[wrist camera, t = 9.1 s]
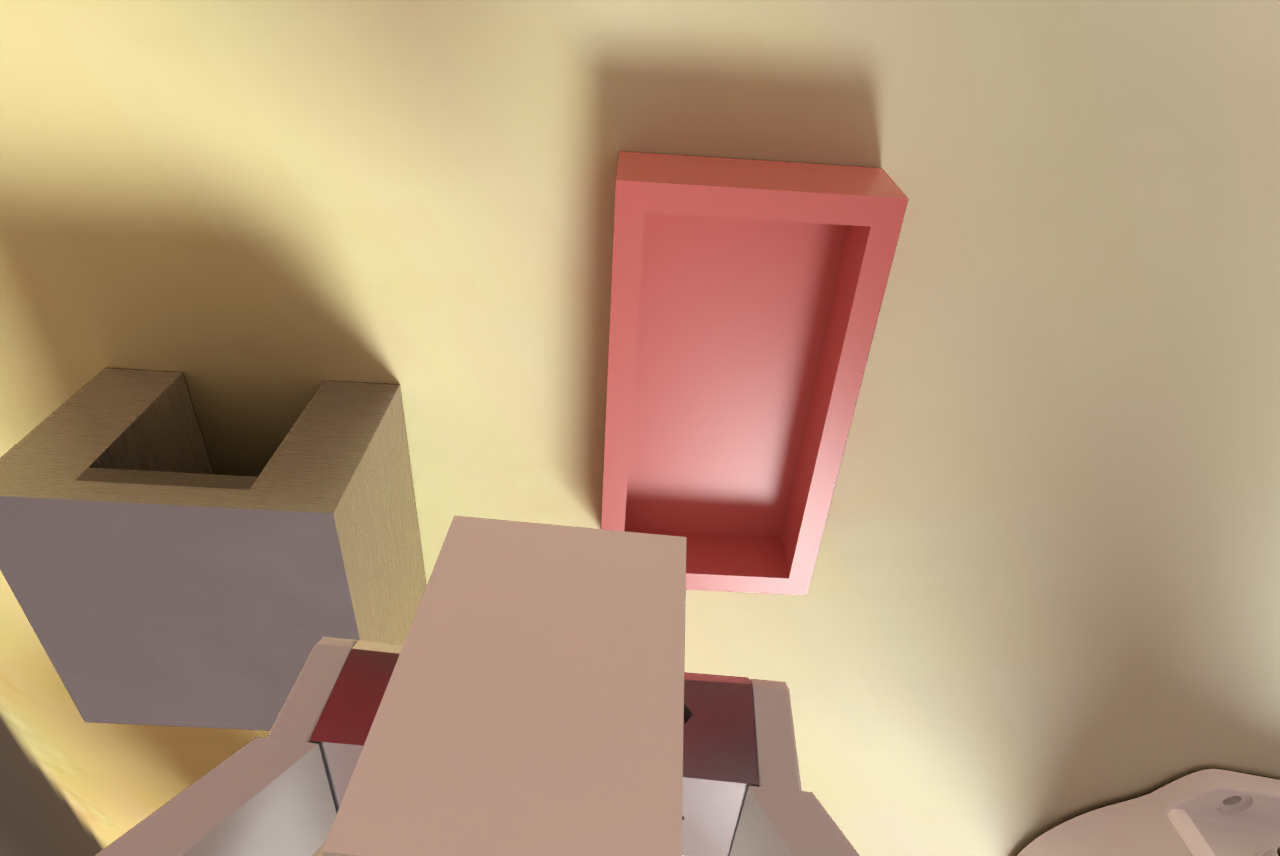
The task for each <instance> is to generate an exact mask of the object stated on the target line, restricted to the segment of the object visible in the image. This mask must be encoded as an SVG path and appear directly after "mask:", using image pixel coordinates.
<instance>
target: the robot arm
mask: <svg viewBox="0 0 1280 856" xmlns="http://www.w3.org/2000/svg"><path fill="white" fill-rule="evenodd" d="M402 647H403V646H401V645H393V644H385V643H377V642H369V641H361V640H353V639H343V638H334V637H324V636H323V637H322V638H321V640H320V641H319V642H318V643H317V644H316V645H315V646H314V647H313V649H312V651H311V653H310V655H309V657H308V659H307V661H306V663H305V665H304V667H303V668H302V670H301V672H300V674H299V676H298V678H297V680H296V682H295V684H294V686H293V688H292V690H291V692H290V694H289V696H288V697H287V699H286V701H285V703H284V705H283V707H282V709H281V711H280V713H279V715H278V717H277V719H276V721H275V723H274V725H273V726H272V728H271V730H270V732H269V734H268V736H267V738H259V737H256V738H254V739H253V740H251V741H250V742H249V743H247V744H246V745H245V746H243V747H242V748H241V749H239V750H238V751H236V752H235V753H234V754H232V755H231V756H230V757H228V758H227V759H226V760H224V761H223V762H221V763H220V764H219V765H217V766H216V767H215V768H213V769H212V770H211V771H209V772H208V773H207V774H205V775H204V776H202V777H201V778H200V779H198V780H197V781H196V782H194V783H193V784H192V785H190V786H189V787H187V788H186V789H185V790H183V791H182V792H181V793H179V794H178V795H177V796H175V797H174V798H172V799H171V800H170V801H168V802H167V803H166V804H164V805H163V806H162V807H160V808H159V809H158V810H156V811H155V812H153V813H152V814H151V815H149V816H148V817H147V818H145V819H144V820H143V821H141V822H140V823H138V824H137V825H136V826H134V827H133V828H132V829H130V830H129V831H128V832H126V833H125V834H124V835H122V836H121V837H119V838H118V839H117V840H115V841H114V842H113V843H111V844H110V845H109V846H107V847H106V848H104V849H103V850H102V851H100V852H99V853H98V854H96V855H95V856H312V855H313V854H314V853H315V852H316V851H317V850H318V849H319V848H320V847H321V846H322V845H323V844H324V843H325V841H326V840H327V838H328V835H329V833H330V830H331V827H332V825H333V822H334V820H335V817H336V815H337V812H338V810H339V807H340V805H341V802H342V800H343V797H344V795H345V792H346V789H347V787H348V784H349V782H350V779H351V777H352V774H353V772H354V769H355V767H356V764H357V762H358V759H359V756H360V754H361V751H362V749H363V746H364V744H365V741H366V739H367V736H368V734H369V731H370V729H371V726H372V723H373V721H374V718H375V716H376V713H377V711H378V708H379V706H380V703H381V701H382V698H383V696H384V693H385V691H386V688H387V685H388V683H389V680H390V678H391V675H392V673H393V670H394V668H395V665H396V663H397V660H398V658H399V655H400V652H401V650H402ZM681 855H684V856H860V855H859V854H858V853H857V851H856V850H855V849H854V847H853V846H852V845H851V843H850V842H849V841H848V839H847V838H846V837H845V835H844V834H843V833H842V831H841V830H840V829H839V827H838V826H837V825H836V823H835V822H834V821H833V819H832V818H831V817H830V815H829V814H828V813H827V811H826V810H825V809H824V807H823V806H822V805H821V803H820V802H819V801H818V799H817V798H816V797H815V795H814V794H813V793H812V792H806V791H802V790H801V782H800V774H799V766H798V758H797V750H796V742H795V734H794V726H793V718H792V710H791V702H790V694H789V688H788V687H787V685H786V683H785V682H779V681H768V680H757V679H750V680H749V678H746V677H734V676H722V675H710V674H698V673H686V672H684V725H683V789H682V852H681ZM1017 856H1280V780H1278V779H1272V778H1266V777H1261V776H1255V775H1250V774H1244V773H1239V772H1233V771H1227V770H1221V769H1205V770H1201V771H1197V772H1194V773H1191V774H1189V775H1186V776H1184V777H1182V778H1179V779H1177V780H1175V781H1173V782H1171V783H1169V784H1167V785H1165V786H1163V787H1161V788H1159V789H1157V790H1155V791H1154V792H1152V793H1150V794H1147V795H1144V796H1141V797H1138V798H1135V799H1131V800H1128V801H1124V802H1120V803H1117V804H1113V805H1109V806H1106V807H1102V808H1099V809H1096V810H1093V811H1090V812H1087V813H1085V814H1082V815H1080V816H1077V817H1075V818H1072V819H1070V820H1068V821H1066V822H1064V823H1062V824H1060V825H1058V826H1056V827H1054V828H1052V829H1050V830H1049V831H1047V832H1045V833H1044V834H1042V835H1041V836H1039V837H1038V838H1036V839H1035V840H1033V841H1032V842H1031V843H1030V844H1028V845H1027V846H1026V847H1025V848H1024V849H1023V850H1022V851H1021V852H1020V853H1019V854H1018V855H1017Z"/></svg>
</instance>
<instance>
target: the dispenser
mask: <svg viewBox="0 0 1280 856" xmlns="http://www.w3.org/2000/svg"><path fill="white" fill-rule="evenodd" d="M0 570H1V572H2V573H3V575H4V577H5V579H6V581H7V582H8V584H9V586H10V588H11V590H12V591H13V593H14V595H15V597H16V599H17V600H18V602H19V604H20V606H21V608H22V609H23V611H24V613H25V615H26V617H27V618H28V620H29V622H30V624H31V626H32V627H33V629H34V631H35V633H36V635H37V636H38V638H39V640H40V642H41V644H42V646H43V647H44V649H45V651H46V653H47V655H48V656H49V658H50V660H51V662H52V664H53V665H54V667H55V669H56V671H57V673H58V674H59V676H60V678H61V680H62V682H63V683H64V685H65V687H66V689H67V691H68V692H69V694H70V696H71V698H72V700H73V701H74V703H75V705H76V707H77V709H78V710H79V712H80V714H81V716H82V718H83V719H84V721H85V722H93V723H115V724H137V725H159V726H181V727H203V728H225V729H247V730H269V731H270V730H271V728H272V726H273V725H274V723H275V721H276V719H277V717H278V715H279V713H280V711H281V709H282V707H283V705H284V703H285V701H286V699H287V697H288V696H289V694H290V692H291V690H292V688H293V686H294V684H295V682H296V680H297V678H298V676H299V674H300V672H301V670H302V668H303V667H304V665H305V663H306V661H307V659H308V657H309V655H310V653H311V651H312V649H313V647H314V646H315V645H316V644H317V643H318V642H319V641H320V640H321V638H322V637H323V636H324V637H334V638H343V639H353V640H361V641H369V642H377V643H385V644H393V645H401V646H403V645H404V642H405V640H406V637H407V635H408V632H409V630H410V627H411V625H412V622H413V620H414V617H415V614H416V612H417V609H418V607H419V604H420V602H421V599H422V597H423V594H424V592H425V589H426V579H425V571H424V564H423V556H422V549H421V541H420V534H419V526H418V518H417V511H416V503H415V496H414V488H413V481H412V473H411V466H410V458H409V450H408V443H407V435H406V428H405V420H404V413H403V405H402V397H401V390H400V385H395V384H377V383H360V382H342V381H323V382H322V384H321V385H320V387H319V388H318V390H317V391H316V393H315V394H314V395H313V397H312V398H311V400H310V401H309V403H308V404H307V406H306V407H305V409H304V410H303V412H302V413H301V415H300V416H299V417H298V419H297V420H296V422H295V423H294V425H293V426H292V428H291V429H290V431H289V432H288V434H287V435H286V437H285V438H284V439H283V441H282V442H281V444H280V445H279V447H278V448H277V450H276V451H275V453H274V454H273V456H272V457H271V459H270V460H269V461H268V463H267V464H266V466H265V467H264V469H263V470H262V472H261V473H260V475H259V476H258V477H254V476H235V475H217V474H214V472H213V469H212V466H211V463H210V460H209V456H208V453H207V450H206V447H205V444H204V440H203V437H202V434H201V431H200V428H199V424H198V421H197V418H196V415H195V412H194V408H193V405H192V402H191V399H190V396H189V392H188V389H187V386H186V383H185V379H184V376H183V373H182V372H165V371H148V370H130V369H112V368H105V369H104V370H102V371H101V372H100V373H99V374H98V375H97V376H95V377H94V378H93V379H92V380H91V381H90V382H88V383H87V384H86V385H85V386H84V387H83V388H81V389H80V390H79V391H78V392H77V393H75V394H74V395H73V396H72V397H71V398H70V399H68V400H67V401H66V402H65V403H64V404H63V405H61V406H60V407H59V408H58V409H57V410H56V411H54V412H53V413H52V414H51V415H50V416H49V417H47V418H46V419H45V420H44V421H43V422H42V423H40V424H39V425H38V426H37V427H36V428H35V429H33V430H32V431H31V432H30V433H29V434H28V435H26V436H25V437H24V438H23V439H22V440H21V441H19V442H18V443H17V444H16V445H15V446H14V447H12V448H11V449H10V450H9V451H8V452H7V453H5V454H4V455H3V456H2V457H1V458H0Z"/></svg>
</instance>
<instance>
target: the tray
mask: <svg viewBox="0 0 1280 856" xmlns="http://www.w3.org/2000/svg"><path fill="white" fill-rule="evenodd" d="M907 202H908V198H907V196H906V195H905V194H904V193H903V192H902V191H901V190H900V188H899V187H898V186H897V185H896V184H895V183H894V182H893V180H892V179H891V178H890V177H889V176H888V175H887V173H886V172H885V171H884V170H883V169H882V168H874V167H859V166H843V165H828V164H812V163H797V162H781V161H766V160H750V159H735V158H719V157H704V156H688V155H672V154H657V153H641V152H626V151H619V158H618V166H617V174H616V188H615V211H614V235H613V259H612V282H611V306H610V330H609V354H608V377H607V401H606V425H605V449H604V472H603V496H602V520H601V529H604V530H615V531H625V532H636V533H647V534H658V535H669V536H680V537H686V589H690V590H709V591H729V592H749V593H769V594H788V595H807V594H808V590H809V586H810V582H811V578H812V574H813V570H814V566H815V562H816V558H817V554H818V550H819V547H820V543H821V539H822V535H823V531H824V527H825V523H826V519H827V515H828V511H829V507H830V503H831V500H832V496H833V492H834V488H835V484H836V480H837V476H838V472H839V468H840V464H841V460H842V456H843V453H844V449H845V445H846V441H847V437H848V433H849V429H850V425H851V421H852V417H853V413H854V409H855V406H856V402H857V398H858V394H859V390H860V386H861V382H862V378H863V374H864V370H865V366H866V362H867V359H868V355H869V351H870V347H871V343H872V339H873V335H874V331H875V327H876V323H877V319H878V315H879V312H880V308H881V304H882V300H883V296H884V292H885V288H886V284H887V280H888V276H889V272H890V268H891V265H892V261H893V257H894V253H895V249H896V245H897V241H898V237H899V233H900V229H901V225H902V222H903V218H904V214H905V210H906V206H907Z"/></svg>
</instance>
